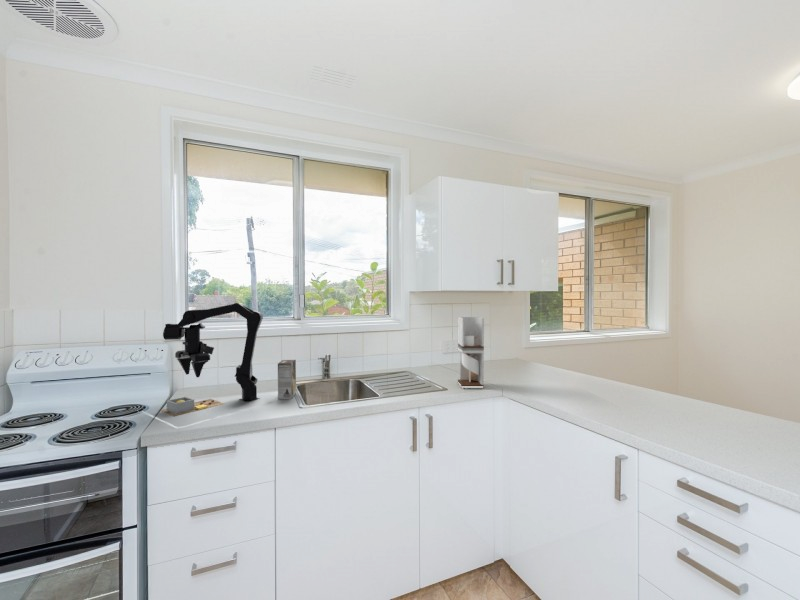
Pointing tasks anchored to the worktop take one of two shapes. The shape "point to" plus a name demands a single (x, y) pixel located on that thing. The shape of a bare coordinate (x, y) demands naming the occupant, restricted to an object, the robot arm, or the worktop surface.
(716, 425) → the worktop surface
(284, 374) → the coffee box
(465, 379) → the display case
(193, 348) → the robot arm
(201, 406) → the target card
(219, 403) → the rack board
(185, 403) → the grey open box
